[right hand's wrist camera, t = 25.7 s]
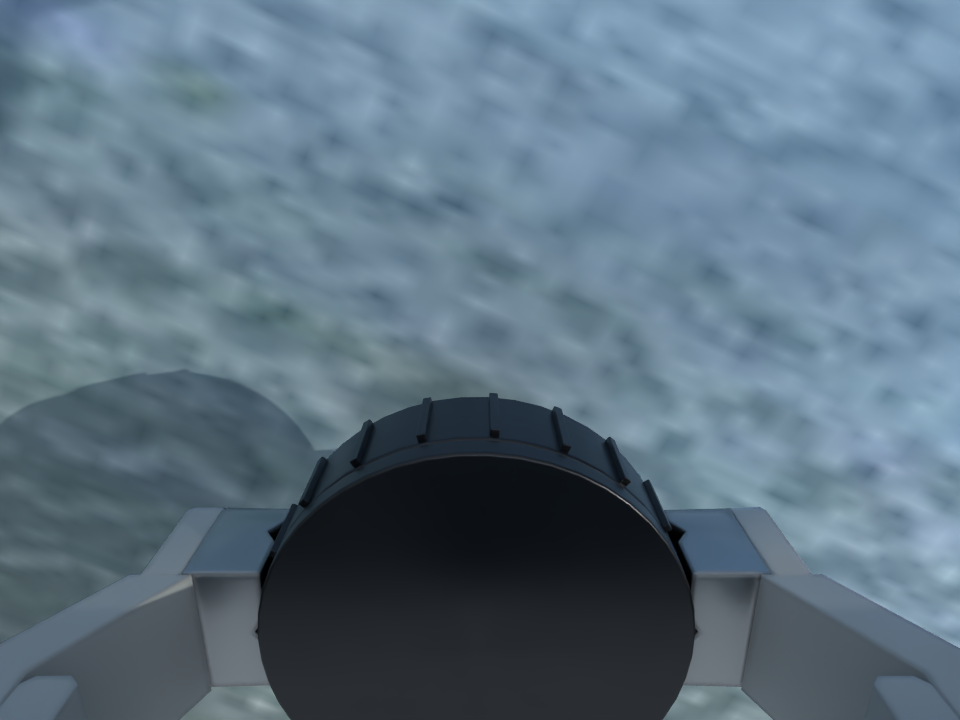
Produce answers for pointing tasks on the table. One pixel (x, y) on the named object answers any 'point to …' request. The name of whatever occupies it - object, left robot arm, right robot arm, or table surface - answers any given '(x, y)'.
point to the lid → (476, 575)
